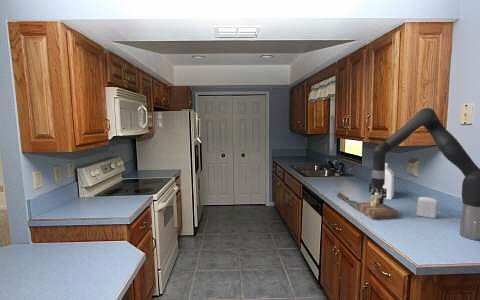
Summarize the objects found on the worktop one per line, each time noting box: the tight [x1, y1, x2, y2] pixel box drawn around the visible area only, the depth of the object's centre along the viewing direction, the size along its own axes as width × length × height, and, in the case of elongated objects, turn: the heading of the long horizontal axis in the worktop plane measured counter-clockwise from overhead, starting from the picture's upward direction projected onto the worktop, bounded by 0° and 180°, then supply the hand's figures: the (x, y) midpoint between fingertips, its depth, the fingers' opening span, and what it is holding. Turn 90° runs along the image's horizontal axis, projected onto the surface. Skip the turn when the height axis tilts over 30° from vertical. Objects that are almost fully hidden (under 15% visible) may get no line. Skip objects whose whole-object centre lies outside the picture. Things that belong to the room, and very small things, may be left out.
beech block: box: [370, 194, 384, 208], centre depth 178 cm, size 5×5×7 cm
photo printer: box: [415, 196, 438, 219], centre depth 173 cm, size 10×4×12 cm, turn 60°
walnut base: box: [356, 201, 399, 221], centre depth 178 cm, size 18×16×5 cm
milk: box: [375, 162, 395, 200], centre depth 216 cm, size 12×12×26 cm
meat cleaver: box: [337, 192, 359, 210], centre depth 202 cm, size 34×11×4 cm, turn 3°
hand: (376, 201), depth 178 cm, fingers open, 8 cm apart
